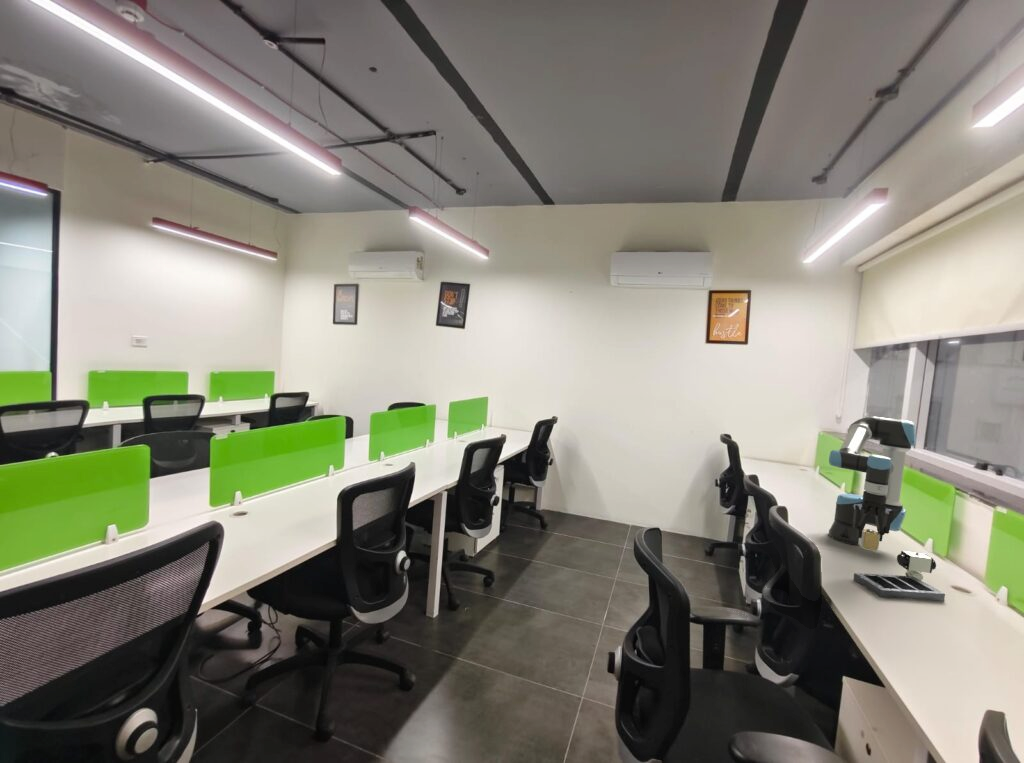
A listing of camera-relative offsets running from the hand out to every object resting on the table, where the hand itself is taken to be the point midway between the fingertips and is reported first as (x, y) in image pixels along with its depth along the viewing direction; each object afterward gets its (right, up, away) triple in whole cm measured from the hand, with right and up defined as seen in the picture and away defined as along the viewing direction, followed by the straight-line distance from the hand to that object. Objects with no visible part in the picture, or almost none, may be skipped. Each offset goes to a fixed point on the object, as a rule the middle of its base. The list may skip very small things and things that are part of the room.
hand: (868, 546), depth 183 cm
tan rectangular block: (0, 0, 0) cm, 0 cm away
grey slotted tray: (+4, -14, -9) cm, 17 cm away
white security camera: (+20, -15, +2) cm, 25 cm away
